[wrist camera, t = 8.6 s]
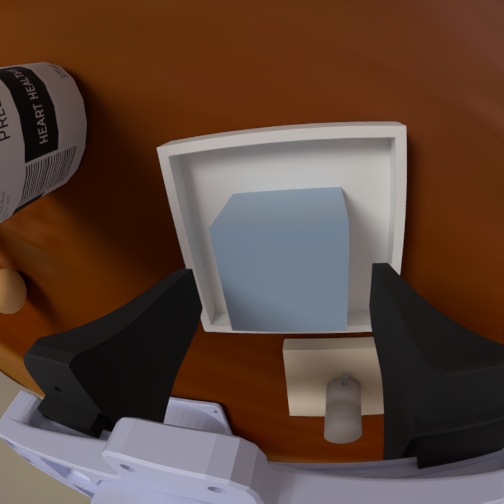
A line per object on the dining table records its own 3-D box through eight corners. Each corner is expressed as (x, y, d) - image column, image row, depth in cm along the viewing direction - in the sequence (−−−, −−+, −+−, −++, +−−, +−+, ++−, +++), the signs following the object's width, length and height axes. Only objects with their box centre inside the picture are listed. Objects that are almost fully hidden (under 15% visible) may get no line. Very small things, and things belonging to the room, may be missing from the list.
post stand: (387, 403, 22) (391, 455, 18) (291, 405, 24) (283, 458, 20) (405, 334, 18) (419, 396, 14) (284, 338, 20) (274, 401, 16)
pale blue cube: (340, 187, 14) (348, 221, 11) (342, 288, 17) (345, 340, 14) (232, 193, 16) (209, 228, 12) (250, 290, 18) (234, 340, 15)
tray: (387, 312, 18) (391, 330, 17) (211, 314, 20) (204, 331, 19) (396, 121, 13) (406, 125, 11) (170, 141, 15) (156, 147, 14)
